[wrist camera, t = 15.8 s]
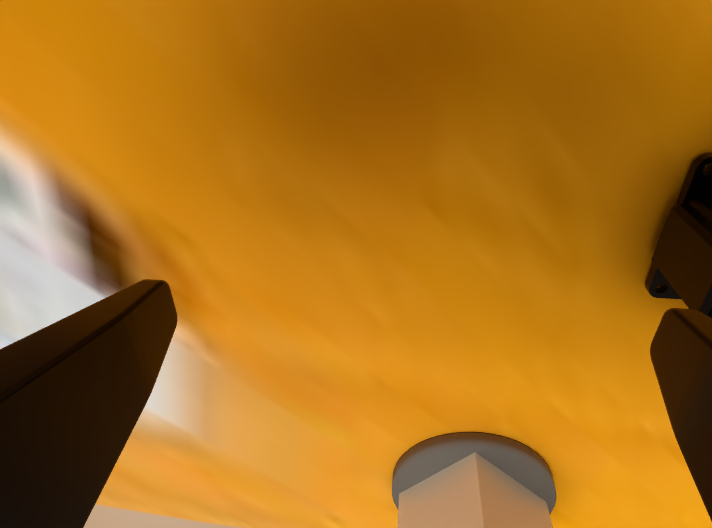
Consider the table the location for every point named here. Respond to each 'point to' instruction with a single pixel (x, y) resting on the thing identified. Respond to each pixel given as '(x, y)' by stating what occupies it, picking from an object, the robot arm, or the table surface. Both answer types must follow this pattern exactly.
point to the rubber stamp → (471, 499)
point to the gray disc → (457, 446)
